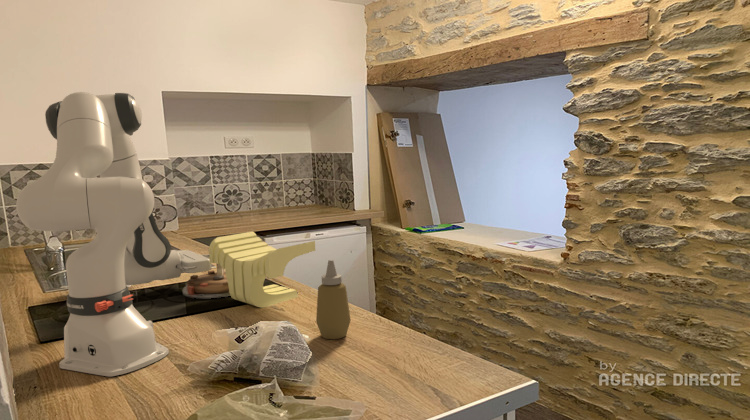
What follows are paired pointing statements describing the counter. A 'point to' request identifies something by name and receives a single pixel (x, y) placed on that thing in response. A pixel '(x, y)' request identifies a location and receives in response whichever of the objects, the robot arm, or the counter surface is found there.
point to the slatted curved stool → (255, 267)
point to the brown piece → (210, 282)
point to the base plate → (189, 292)
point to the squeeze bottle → (332, 305)
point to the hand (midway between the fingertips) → (214, 257)
